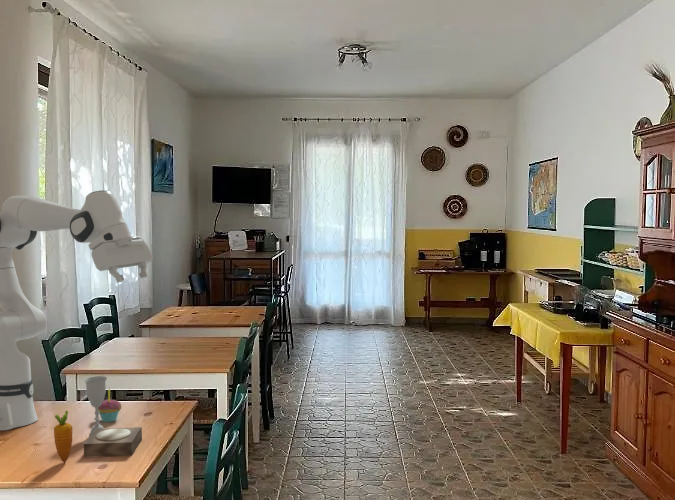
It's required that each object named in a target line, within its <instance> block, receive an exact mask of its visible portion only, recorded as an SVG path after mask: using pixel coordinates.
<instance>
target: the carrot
mask: <svg viewBox="0 0 675 500" xmlns="http://www.w3.org/2000/svg"><path fill="white" fill-rule="evenodd" d="M68 415H69V411H68V410H65V412H64V414H63V416H62V417H60V416H59V414H55V415H54V418H55V419H56V421H57V422H58V423H57V425H55V427H53V437H54V444H55V448H56V453H57V454H58V456H59V458H60V461H61V462H63V463H66V462H67V461H68V458H69V457H70V453H71V451H72V446H73V445H72V444H73V425H72V424H70V423H69V422H67V420H68Z"/></svg>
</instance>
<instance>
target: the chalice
mask: <svg viewBox="0 0 675 500" xmlns="http://www.w3.org/2000/svg"><path fill="white" fill-rule="evenodd" d="M107 379H108V378H107V376H104V375H101V376H91V377H87V378H85V379H84V382H85V385H86V386H85V388H86V392H85V393H86V397H87V399H88V401H89V403H90V405H91V406H92V408H94V409H95V411H94V415H95V418H94V421H95V424H94V425H93V426H92V427H91V430H90V432H89V435H90V436H91V435H92V434H93V432H94V431H95V430H96V429H104V428H105V427H104V425H102V424H100V420H101V417H100V414H99V410H98V408H99V406H101V404H102V402H103V400H105V397H106V392H107V387H106V386H107V384H106V382H107Z"/></svg>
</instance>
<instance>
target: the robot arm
mask: <svg viewBox="0 0 675 500" xmlns="http://www.w3.org/2000/svg"><path fill="white" fill-rule="evenodd" d="M66 229H67V230H68V229H69V232H70V235H71V236H72V238H73V239H74V240H75V241H76V242H78V243H82V244H86V243H88V248H89V250H90V251H91V257H92V262H93V263H94V265H95V268H96V269H97V270H98V271H100V272H103V271H104V272H105V271H109V274H110V275H111V276H113V278H114V279H115V281H116V283H122V282H124V281H125V278H124V275H123V274H121V273H119V272H118V269H122V268H123V269H125V268H129V267H135V266H137V267H138V269H140V272H139V273H138V276H139V277H140V279H146V278H147V277H148V272H147V264H149V263H151V262H153V260H154V259H153V258H154V256H153V253H152V251H151V249H150V247H149V245H148V244H147V242H146V241H145V240H144V239H143V238H142V237H141V236H138V235H136V236H132V234H131V231H130V230H129V227H128V224H127V223H126V221H125V220H124V218H123V213H122V209H121V207H120V204H119V203H118V201H117V199H116V197H115V196H114V194H113V193H112V192H111V191H109V190H103V189H102V190H95V191H92V192H90V193H88V194H87V195H86V196H85V200H84V203H83V206H82V207H81V209H77V208H73V207H69V206H66V205H62V204H59V203H56V202H53V201H49V200H47V199H44V198H40V197H35V196H30V195H13V196H12V195H11V196H9V197H8V198H6V199H5V201H4V202H3V204H2V205H1V211H0V308H1V310H2V311H0V431H9V430H12V429H15V428H19V427H25V426H27V425H31V424H33V423H35V422H37V421H38V419H39V417H38V415H37V412H36V409H35V403H34V397H33V396H34V384H33V379H32V371H31V370H32V369H31V366H32V365H31V359H30V357H29V356H28V355H27V354H25V353H24V352H22V351H20V350H19V348H18V345H17V342H19V341H25V340H29V339H32V338H35V337H37V336H38V335H41V334H42V333H43V332H44V331H45V330H46V328H47V317H46V315H45V313H44V312H43V310H42V309H40V308H38V307H37V306H34V305H33V304H32V302H30V301H29V300H28V298H27V297H26V295H25V294H24V292H23V289H22V287H21V285H20V280H19V278H18V274H17V271H16V266H15V263H14V259H13V251H14V250H15V249H16V250H18V251H20V250H22V249H23V248H24V247H25V246H27V245H28V244H31V243H32V242H33V241H34V240H35V238H36V236H37V235H38V232H49V231H50V232H51V231H58V230H66Z"/></svg>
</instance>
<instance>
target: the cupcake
mask: <svg viewBox="0 0 675 500" xmlns="http://www.w3.org/2000/svg"><path fill="white" fill-rule="evenodd" d="M121 409H122V404H121V402H120V401H119V400H116V399H111V389H110V387H108V389H107V399H104V400H103V402H102V404H101V406H99V408H98V410H99V417H100V420H101V421H102V422H103V423H112V422H114V421H115V422H116V420H117V418H118V415H119V412H120V411H121Z"/></svg>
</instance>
